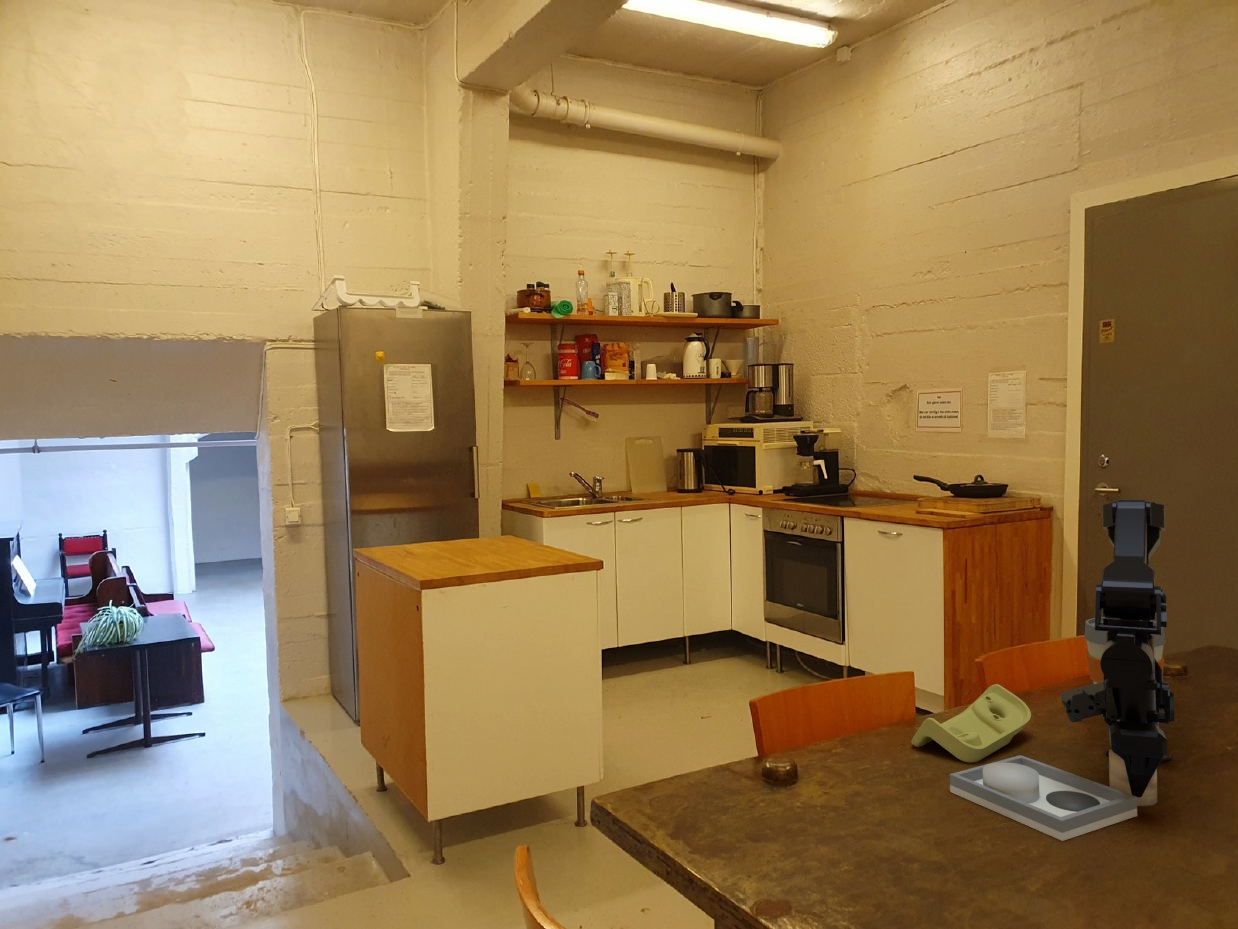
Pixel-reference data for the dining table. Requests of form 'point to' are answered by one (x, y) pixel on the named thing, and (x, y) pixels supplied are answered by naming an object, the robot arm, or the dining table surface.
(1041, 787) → the carrier plate
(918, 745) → the plastic component
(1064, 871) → the dining table surface
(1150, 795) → the tan paper roll
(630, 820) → the dining table surface
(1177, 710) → the dining table surface
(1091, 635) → the reusable coffee cup
